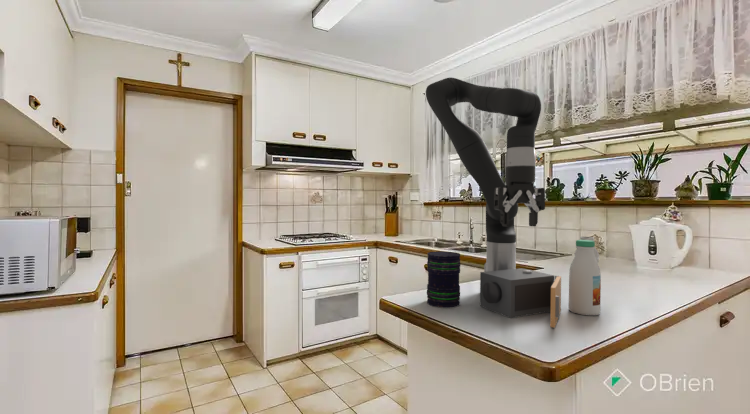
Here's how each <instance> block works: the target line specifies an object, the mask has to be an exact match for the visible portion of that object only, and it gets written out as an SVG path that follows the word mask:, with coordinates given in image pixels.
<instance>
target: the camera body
mask: <svg viewBox="0 0 750 414" xmlns="http://www.w3.org/2000/svg"><path fill="white" fill-rule="evenodd" d="M479 276H480V278H479V280H480V282H479V283H480V284H479V285H480V289H479V293H480V294H479V301H480V302H479V307H481V308H483V309H486V310H489V311H492V312H494V313H497V314H499V315H502V316H505V317H507V318H509V319H514V318H519V317H525V316H531V315H537V314H543V313H551V286H552V285H553V283H554V281H555V276H556V275H554V274H550V273H544V272H540V271H536V270H532V269H527V268H524V267H523V268H521V267H520V268H516V269H508V270H498V271H487V272H484V271H480V275H479Z"/></svg>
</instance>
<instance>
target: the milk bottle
mask: <svg viewBox="0 0 750 414" xmlns="http://www.w3.org/2000/svg"><path fill="white" fill-rule="evenodd" d="M594 247H595V248H596V242H595V240H594V241H592V240H580V239H577V240H575V249H577V251H576V250H575V251H576V255H574V258H573V259H572V261H571V263H570V265H569V273H568V274H569V276H568V309H569V311H570V312H571V313H575V314H578V315H581V316H582V315H583V316H598V315H600V313H601V297H602V296H601V295H602V294H601V292H602V291H601V290H602V288H601V287H602V285H601V282H602V281H601V280H602V279H601V278H602V275H601V273H602V272H601V268H600V265H599V262H597V260H596V258H595V255H594V249H595V248H594Z"/></svg>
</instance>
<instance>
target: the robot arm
mask: <svg viewBox="0 0 750 414" xmlns="http://www.w3.org/2000/svg"><path fill="white" fill-rule="evenodd" d="M425 98H426V101H427V102H428V105H429V107H430V109H431V110H432V112H433V113H434V115H435V116H436V118H437V120H438V121H439V122H440V124H441V126H442V127H443V129H444V131H445V132H446V134H447V136H448V138H449V139H450V142H451V143H452V145H453V147H454V149H455V151H456V153H457V155H458V156H459V159H460V161H461V163H462V165H463V166H464V167H465V169H466V171H467V172H468V173H469V175H470V176H471V177H472V179H473V180H474V181H475V182H476V184H477V185H478V187H479V188H480V190H481V193H482V195H483V197H484V199H485V202H486V204H485V235H486V258H485V259H486V262H485V263H484V265H483V266H484V267H483V270H484V271H483V272H487V271H498V270H508V269H517V268H516V267H517V266H516V265H517V264H516V263H517V262H516V261H517V234H516V230H515V217H516V216H517V214H518V211H519V204H524V205H525V206H526V207H527V209H528V210H529V213H528V225H529V227H537V225H538V223H539V222H538V221H539V220H538V219H539V218H538V217H539V214H538V213H539V212H541V211H544V210H545V209H546V192H545V191H546V189H545V188H544V187H537V188H535V186H534V185H535V182H536V150H535V148H536V147H535V145H536V144H535V142H536V140H535V139H536V130H537V127H538V124H539V123H538V122H539V119H540V117H541V112H542V101H541V98H540V96H539V95H538V93H535V92H533V91H529V90H526V89H521V88H516V87H515V88H514V87H504V88H502V87H498V86H497V87H495V86H486V85H478V84H474V83H471V82H468V81H464V80H462V79H460V78H455V77H445V78H443V79H440V80H437V81H435V82H432V83H429V85H427V86H426V88H425ZM460 103H469V104H470V105H471V106H472V107H473V108H474V109H476V110H478V111H481V112H487V113H492V114H501V115H506V116H510V117H514V118H517V120H516V123H515V125H513V126H511V127H509V128H508V129H507V133H506V152H505V161H504V162H505V163H504V165H505V166H504V168H505V169H504V176H505V177H504V180H503V178H502V177H501V175H500V173H499V170H498V168H497V166H496V163H495V161H494V159H493V156H492V155H491V153H490V151H489V148H488V146H487V145H486V143H485V141H484V139H483V137H482V135H481V134H480V133H479V132H478V131H477V130H476V129H475V128H473V127H471V126H469V125H468V124H467V123H465V122H463V121H462V120H461V119H460V118H459V117H458V116H457V115H456V114H455V111H453V109H452V107H453V106H455V105H456V104H460Z"/></svg>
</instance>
